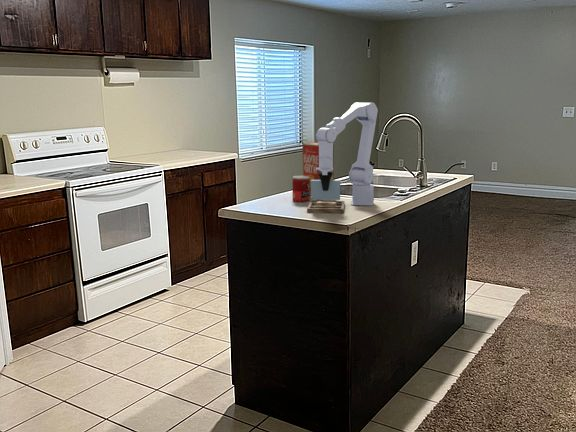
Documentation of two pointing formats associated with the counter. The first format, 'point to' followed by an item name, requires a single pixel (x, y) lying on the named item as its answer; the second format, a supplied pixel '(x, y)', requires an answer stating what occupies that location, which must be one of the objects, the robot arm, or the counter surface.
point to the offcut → (325, 203)
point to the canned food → (301, 188)
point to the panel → (319, 194)
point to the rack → (326, 207)
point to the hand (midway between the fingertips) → (325, 190)
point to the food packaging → (312, 162)
